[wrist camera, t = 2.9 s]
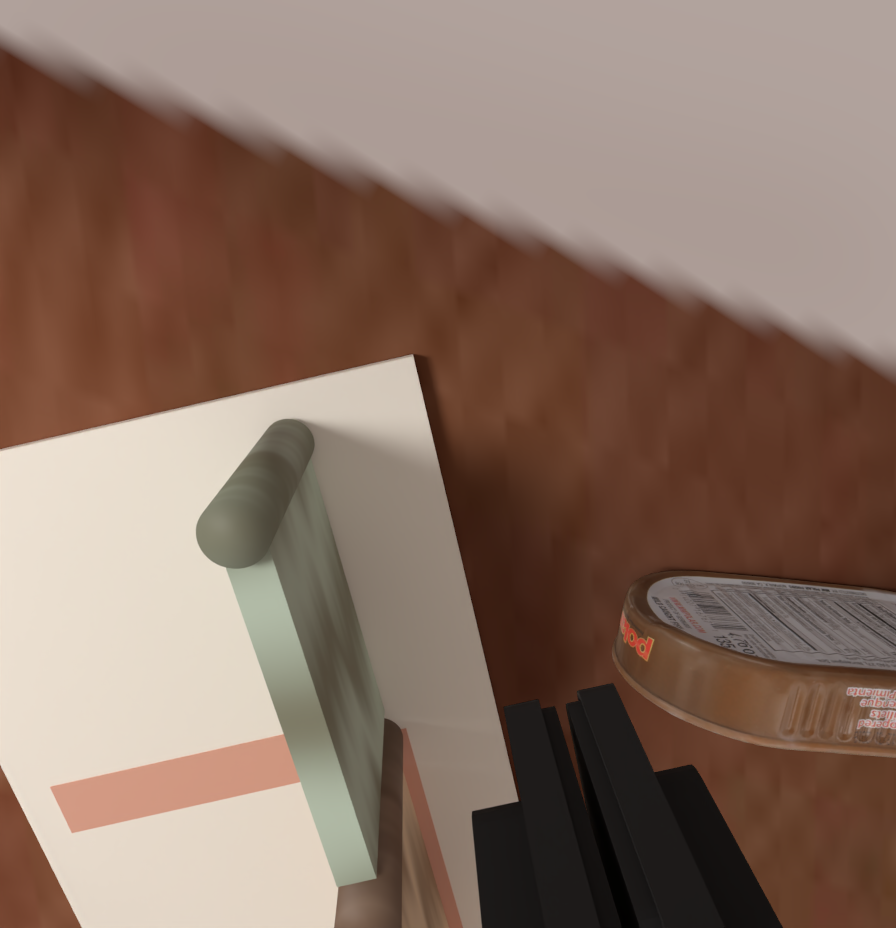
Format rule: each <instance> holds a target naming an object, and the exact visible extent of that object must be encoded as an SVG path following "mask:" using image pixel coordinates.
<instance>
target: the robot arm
mask: <svg viewBox="0 0 896 928" xmlns="http://www.w3.org/2000/svg"><path fill="white" fill-rule="evenodd" d="M577 696H578V701H576V702H571V703H567V704H566V709H567V714H568V719H569V724H570V729H571V734H572V739H573V744H574V749H575V754H576V759H577V764H578V769H579V774H580V779H581V783H582V788H583V793H584V798H585V803H586V807H585V804H584V801H583V797H582V794H581V791H580V787H579V784H578V781H577V778H576V774H575V771H574V768H573V764H572V761H571V758H570V754H569V751H568V748H567V745H566V741H565V738H564V735H563V731H562V728H561V725H560V721H559V718H558V715H557V712H556V708H555V706H553V707H548V708H544V709H541V707H540V703H539V700H538V699H537V700H532V701H528V702H523V703H519V704H514V705H509V706H505V707H504V713H505V718H506V723H507V729H508V734H509V739H510V744H511V750H512V755H513V760H514V766H515V771H516V776H517V781H518V787H519V792H520V797H521V801H518V802H513V803H508V804H504V805H499V806H494V807H490V808H485V809H480V810H475V811H472V828H473V838H474V849H475V860H476V870H477V881H478V891H479V902H480V912H481V923H482V928H783V927H782V925H781V923H780V922H779V920H778V918H777V916H776V914H775V912H774V911H773V909H772V907H771V905H770V903H769V901H768V899H767V898H766V896H765V894H764V892H763V890H762V888H761V887H760V885H759V883H758V881H757V879H756V877H755V876H754V874H753V872H752V870H751V868H750V866H749V864H748V863H747V861H746V859H745V857H744V855H743V853H742V852H741V850H740V848H739V846H738V844H737V842H736V840H735V839H734V837H733V835H732V833H731V831H730V829H729V828H728V826H727V824H726V822H725V820H724V818H723V816H722V815H721V813H720V811H719V809H718V807H717V805H716V804H715V802H714V800H713V798H712V796H711V794H710V793H709V791H708V789H707V787H706V785H705V783H704V781H703V780H702V778H701V776H700V774H699V773H698V771H697V770H696V768H695V767H694V766H693V765H692V764H691V765H687V766H682V767H677V768H673V769H668V770H663V771H659V772H654V771H653V769H652V766H651V764H650V762H649V760H648V758H647V755H646V753H645V751H644V749H643V747H642V745H641V742H640V740H639V738H638V736H637V734H636V731H635V729H634V727H633V725H632V723H631V720H630V718H629V716H628V714H627V712H626V709H625V707H624V705H623V703H622V701H621V699H620V696H619V694H618V692H617V690H616V688H615V686H614V684H613V683H611V684H606V685H602V686H597V687H593V688H588V689H583V690H579V691H577ZM586 808H587V811H586ZM587 813H588V814H587Z"/></svg>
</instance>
